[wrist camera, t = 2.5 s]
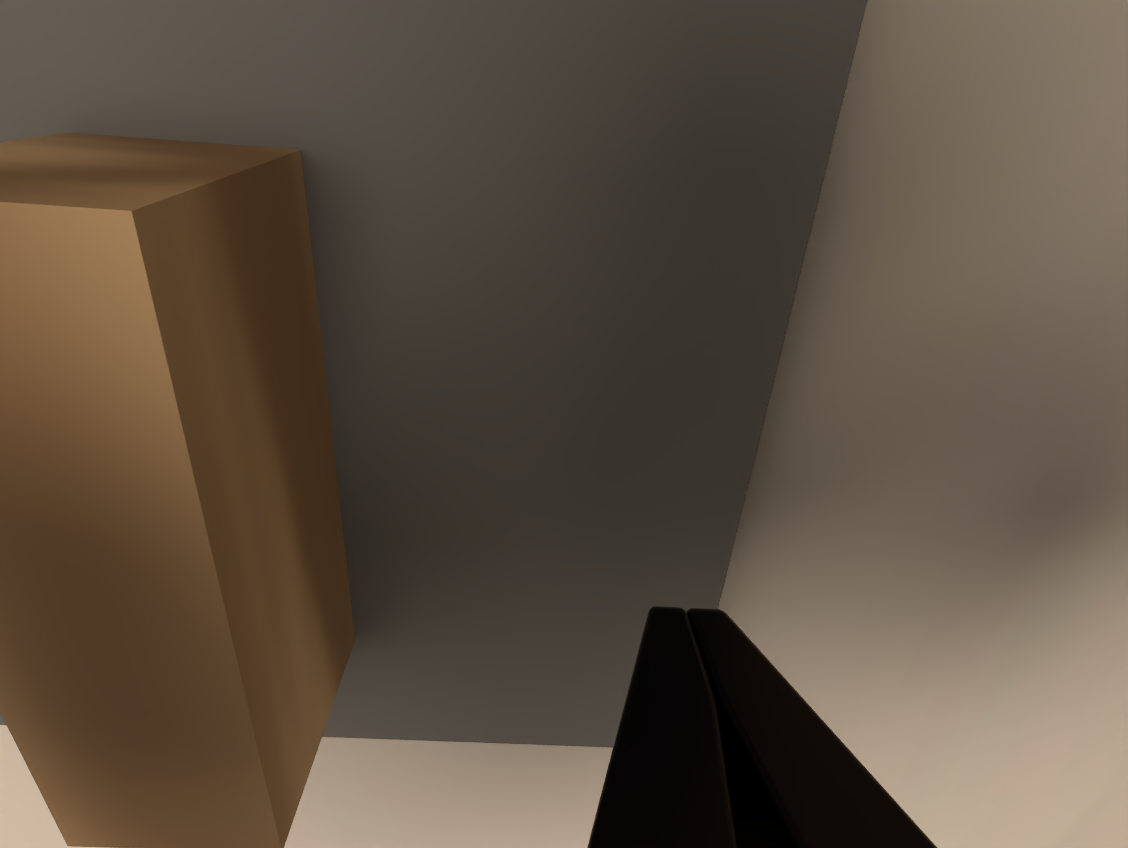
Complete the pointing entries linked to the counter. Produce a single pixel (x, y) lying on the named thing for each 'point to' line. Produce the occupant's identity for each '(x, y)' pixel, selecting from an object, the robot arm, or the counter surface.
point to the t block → (165, 489)
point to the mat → (504, 299)
